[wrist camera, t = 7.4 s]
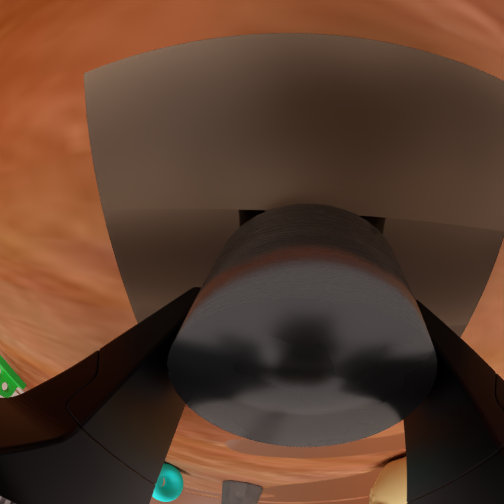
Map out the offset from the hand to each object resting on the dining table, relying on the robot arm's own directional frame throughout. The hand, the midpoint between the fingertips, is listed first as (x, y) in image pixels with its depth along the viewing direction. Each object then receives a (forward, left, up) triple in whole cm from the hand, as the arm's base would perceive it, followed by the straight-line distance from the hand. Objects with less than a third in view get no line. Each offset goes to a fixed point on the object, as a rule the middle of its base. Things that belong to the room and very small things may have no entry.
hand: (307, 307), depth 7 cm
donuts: (-60, +26, -7) cm, 66 cm away
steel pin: (0, 0, -6) cm, 6 cm away
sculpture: (-38, -21, -7) cm, 44 cm away
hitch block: (0, 0, -7) cm, 7 cm away
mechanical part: (-40, +67, -7) cm, 78 cm away
